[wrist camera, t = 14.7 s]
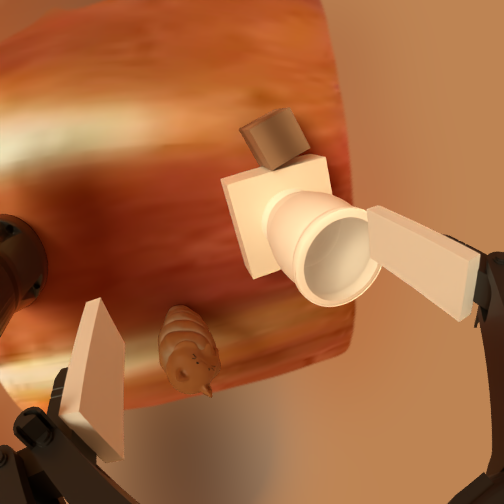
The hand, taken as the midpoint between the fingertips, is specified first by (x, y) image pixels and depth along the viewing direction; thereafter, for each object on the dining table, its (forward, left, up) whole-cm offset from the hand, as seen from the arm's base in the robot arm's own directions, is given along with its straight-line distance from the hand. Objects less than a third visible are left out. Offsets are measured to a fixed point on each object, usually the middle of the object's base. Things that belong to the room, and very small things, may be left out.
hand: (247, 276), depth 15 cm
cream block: (+11, -9, -32) cm, 35 cm away
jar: (+11, -9, -28) cm, 31 cm away
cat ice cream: (-8, -20, -33) cm, 39 cm away
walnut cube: (+12, +2, -33) cm, 35 cm away
